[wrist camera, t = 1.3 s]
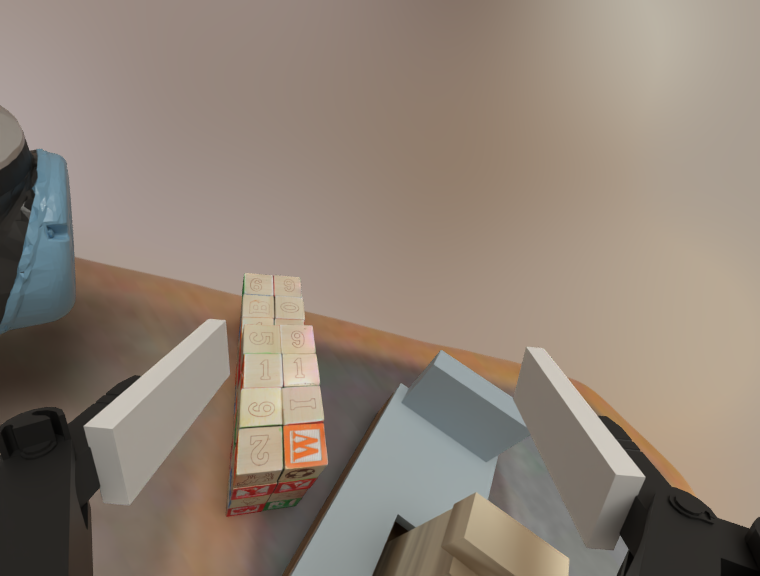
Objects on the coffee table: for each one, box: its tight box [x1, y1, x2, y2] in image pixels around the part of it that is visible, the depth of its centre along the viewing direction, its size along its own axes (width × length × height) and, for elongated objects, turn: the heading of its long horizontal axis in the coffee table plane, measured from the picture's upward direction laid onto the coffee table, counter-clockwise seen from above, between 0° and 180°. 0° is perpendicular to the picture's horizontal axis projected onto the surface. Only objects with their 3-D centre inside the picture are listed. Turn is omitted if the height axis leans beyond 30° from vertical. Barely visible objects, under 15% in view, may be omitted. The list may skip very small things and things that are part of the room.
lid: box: [289, 350, 530, 576], centre depth 28 cm, size 12×20×9 cm, turn 151°
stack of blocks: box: [226, 273, 328, 517], centre depth 35 cm, size 21×6×12 cm, turn 12°
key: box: [372, 492, 569, 576], centre depth 24 cm, size 6×4×20 cm
